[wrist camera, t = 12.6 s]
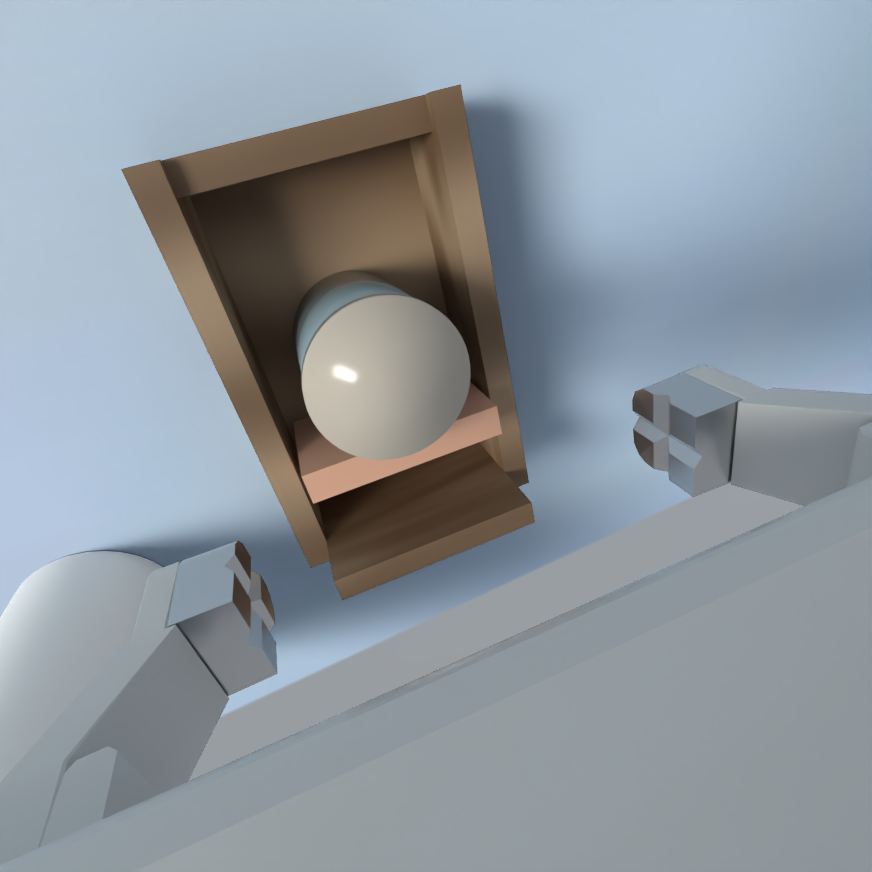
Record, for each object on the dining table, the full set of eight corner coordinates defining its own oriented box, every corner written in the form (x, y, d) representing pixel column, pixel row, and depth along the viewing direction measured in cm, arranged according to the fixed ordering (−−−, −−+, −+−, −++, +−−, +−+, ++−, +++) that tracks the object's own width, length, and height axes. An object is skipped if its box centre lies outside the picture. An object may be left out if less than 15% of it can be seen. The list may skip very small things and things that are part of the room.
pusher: (293, 422, 22) (301, 476, 18) (453, 366, 23) (497, 405, 19) (302, 445, 22) (313, 503, 18) (459, 390, 24) (502, 433, 20)
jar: (269, 289, 20) (274, 328, 14) (397, 251, 20) (450, 273, 15) (316, 409, 22) (336, 482, 16) (428, 370, 23) (484, 427, 17)
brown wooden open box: (148, 172, 18) (96, 165, 12) (423, 103, 19) (493, 68, 13) (303, 513, 25) (316, 610, 19) (492, 443, 26) (557, 513, 21)
